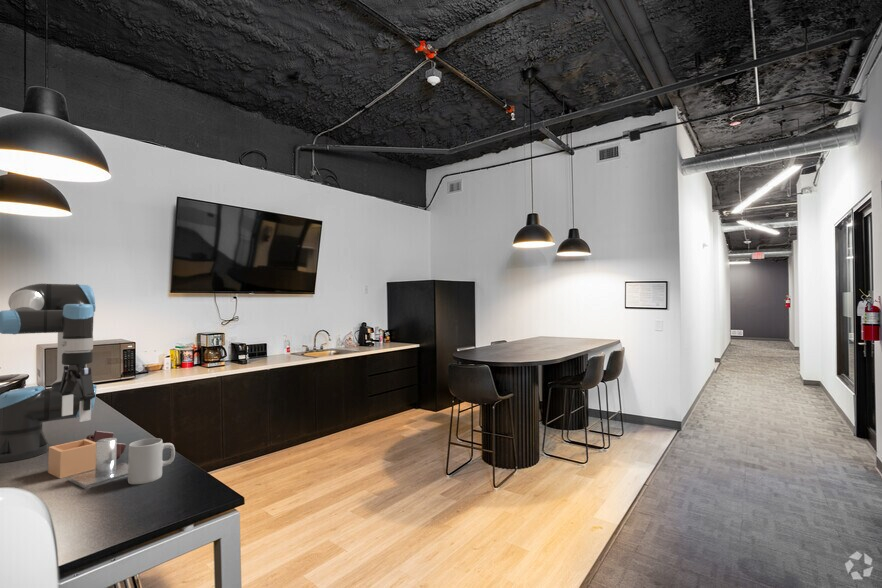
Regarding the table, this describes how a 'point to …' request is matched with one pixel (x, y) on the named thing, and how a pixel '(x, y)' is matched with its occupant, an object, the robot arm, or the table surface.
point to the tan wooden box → (72, 458)
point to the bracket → (103, 435)
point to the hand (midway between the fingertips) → (75, 418)
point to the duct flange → (103, 466)
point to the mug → (147, 460)
